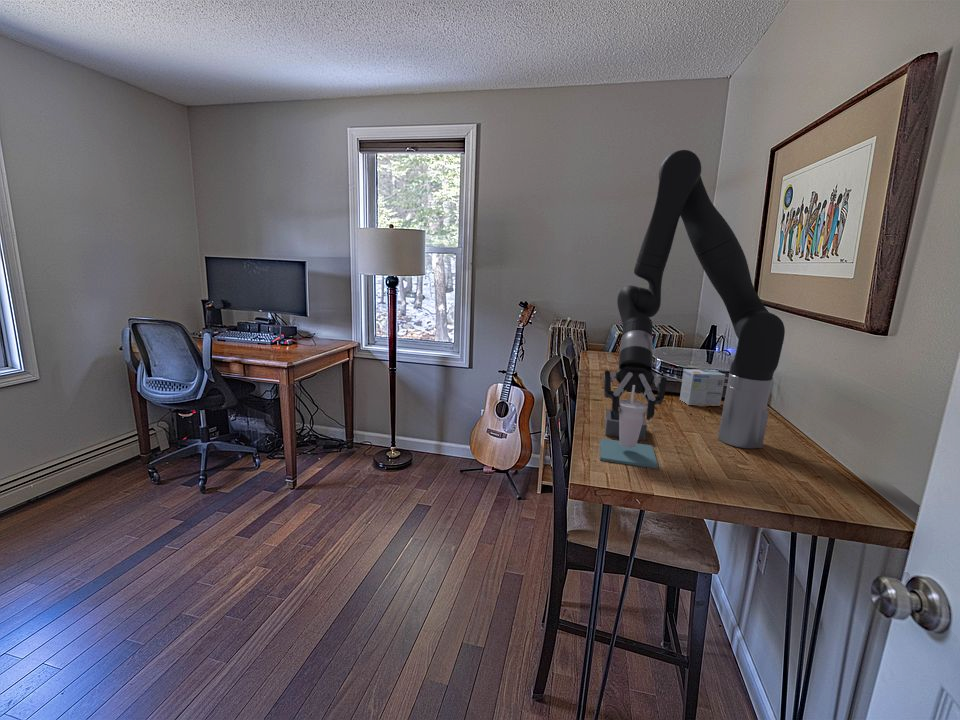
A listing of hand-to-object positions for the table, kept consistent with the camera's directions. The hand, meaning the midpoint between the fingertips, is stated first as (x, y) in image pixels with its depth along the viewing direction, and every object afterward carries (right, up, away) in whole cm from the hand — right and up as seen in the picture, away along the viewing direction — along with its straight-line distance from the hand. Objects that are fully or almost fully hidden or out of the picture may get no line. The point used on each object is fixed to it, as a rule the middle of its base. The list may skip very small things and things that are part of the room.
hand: (632, 415), depth 103 cm
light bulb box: (+37, -2, +47) cm, 60 cm away
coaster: (0, -9, +4) cm, 10 cm away
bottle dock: (+4, -6, +18) cm, 19 cm away
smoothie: (0, -7, +3) cm, 8 cm away
